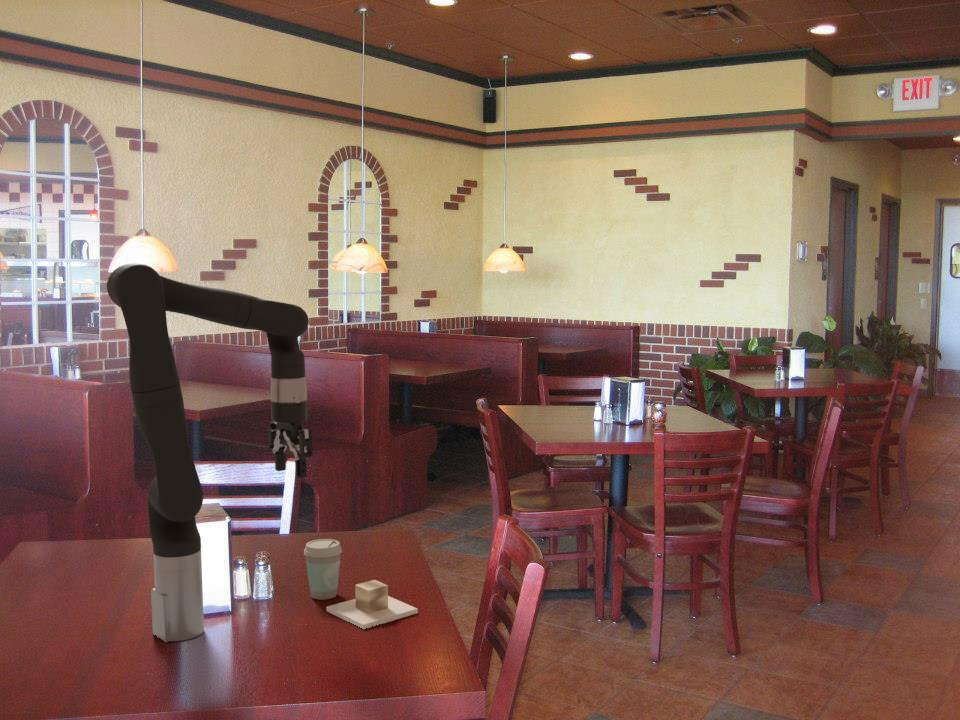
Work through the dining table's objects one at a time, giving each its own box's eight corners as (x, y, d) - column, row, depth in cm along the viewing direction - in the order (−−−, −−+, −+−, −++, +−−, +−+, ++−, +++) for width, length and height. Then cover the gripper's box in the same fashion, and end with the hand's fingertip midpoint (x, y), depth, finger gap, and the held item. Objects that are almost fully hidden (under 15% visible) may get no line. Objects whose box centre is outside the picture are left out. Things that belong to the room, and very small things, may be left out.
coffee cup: (323, 604, 217) (322, 551, 215) (296, 596, 222) (295, 544, 220) (350, 594, 223) (350, 542, 222) (324, 586, 228) (323, 536, 227)
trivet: (363, 629, 202) (363, 624, 202) (326, 611, 212) (326, 606, 212) (417, 613, 211) (417, 608, 211) (379, 596, 222) (379, 592, 222)
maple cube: (369, 613, 208) (368, 590, 208) (355, 607, 212) (355, 584, 211) (388, 607, 211) (387, 585, 211) (374, 601, 215) (374, 579, 215)
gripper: (256, 396, 211) (258, 471, 213) (290, 403, 200) (292, 482, 202) (287, 393, 216) (289, 466, 218) (322, 400, 205) (323, 476, 207)
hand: (290, 473), depth 210 cm, fingers open, 8 cm apart
